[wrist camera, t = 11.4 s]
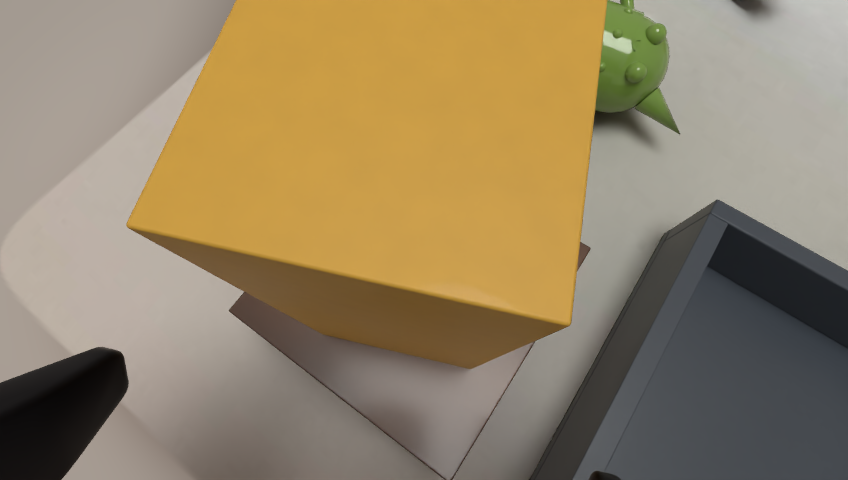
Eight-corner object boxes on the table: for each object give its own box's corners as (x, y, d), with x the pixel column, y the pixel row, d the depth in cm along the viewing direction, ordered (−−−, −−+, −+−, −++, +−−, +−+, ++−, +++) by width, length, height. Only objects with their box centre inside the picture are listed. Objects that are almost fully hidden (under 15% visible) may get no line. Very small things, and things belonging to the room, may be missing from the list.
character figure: (530, -141, 20) (797, -54, 18) (525, -66, 25) (733, 8, 23) (423, 98, 21) (660, 201, 19) (439, 122, 26) (628, 206, 24)
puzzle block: (471, 369, 15) (572, 326, 5) (321, 334, 16) (122, 226, 5) (497, 227, 17) (611, -25, 7) (362, 198, 18) (273, -80, 7)
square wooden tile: (444, 463, 18) (449, 483, 14) (265, 325, 20) (227, 310, 16) (560, 274, 21) (591, 247, 17) (393, 168, 22) (387, 123, 19)
